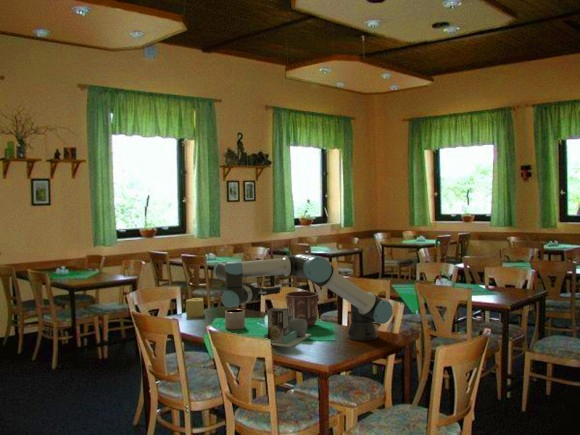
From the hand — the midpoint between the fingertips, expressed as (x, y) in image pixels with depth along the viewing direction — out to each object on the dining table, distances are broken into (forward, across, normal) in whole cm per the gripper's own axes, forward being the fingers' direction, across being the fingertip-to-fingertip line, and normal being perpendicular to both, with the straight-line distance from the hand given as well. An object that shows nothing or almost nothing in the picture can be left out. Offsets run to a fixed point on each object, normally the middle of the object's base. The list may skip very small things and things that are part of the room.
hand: (268, 286), depth 297 cm
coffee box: (+9, 0, -29) cm, 31 cm away
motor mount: (+17, 0, -30) cm, 34 cm away
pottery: (+48, -6, -30) cm, 57 cm away
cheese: (+47, -78, -30) cm, 96 cm away
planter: (+29, -38, -30) cm, 56 cm away
